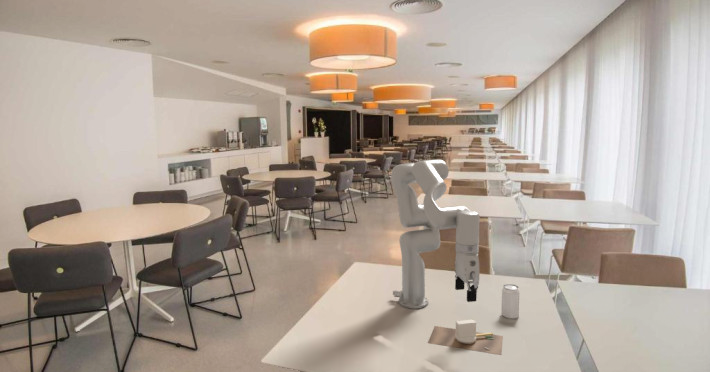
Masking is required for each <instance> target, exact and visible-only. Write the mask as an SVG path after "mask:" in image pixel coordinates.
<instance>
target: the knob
mask: <svg viewBox="0 0 710 372" xmlns="http://www.w3.org/2000/svg"><path fill="white" fill-rule="evenodd" d="M455 329H456V334H455V338H456V340H457V341H459V342H461V343H465V344H471V343H474V342H475V341H476V337H481V336H490V335H494V332H481V333H482V334H476V332H477V321H475V320H474V319H472V318H471V319H463V320H456V321H455Z"/></svg>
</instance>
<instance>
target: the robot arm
mask: <svg viewBox="0 0 710 372" xmlns="http://www.w3.org/2000/svg"><path fill="white" fill-rule="evenodd" d="M448 176H449V166H448V165H447V163H446V161H444V160H442V159H426V160H425V159H424V160H419V161H416V162H410V163H400V164H397V165H395V166H394V167H393V168H392V170H391V173H390V182H391V185H392V188H393V190H394V193H395V196H396V201H397V208H398V217H399V221H400V225H401V226H402V227H404V228H406V229H407V228H408V229H409V228H418V227H423V228H422V229H415V230H409V231H405V232H403V233H402V234H401V235H400V237H399V246H400V247H399V248H400V252H401V253H400V254H401V285H402V286H401V290H399V291H398V290H392V295H393V296H394V298H398V304H399V305H400V306H401V307H404V308H407V309H416V310H417V309H422V308H425V307H427V306H428V305H429V299H428V298H427V297H426V295H425V294H426V292H425V291H426V289H425V286H426V285H425V283H426V281H425V280H426V279H425V276H426V273H425V272H426V271H425V270H426V269H425V261H424V259H423V258H422V257H421V255H420V254H421V253H427V252H434V251H437V250H438V249H439V248H440V246H441V233H440V230H447V229H448V230H449V229H455V249H454V250H455V252H456V253H455V263H454V272H455V275H454V277H455V278H454V279H455V280H454V281H455V283H454V284H455V285H454V287H455V291H460V290H461V291H462V290H465V284H466V286H467V290H466V302H467V303H472V302H477V293H478V289H479V284H480V259H479V243H480V222H481V221H480V220H481V219H480V214H479V213H478V212H477V211H474V210H470V209H469V208H468V207H466V206H465V205H455V206H445V207H444V206H443V207H439V206H438V205H437V203H436V201H437V200H439V199H440V198H441V197H443V195H444V194H445V193H446V191H447V183H446V182H445V181H444V180H446V179H447V178H448ZM410 184H418V185H419V187H420V189H421V190H422V192H423V193H424V194H425V195H424V198H423V203H418V197H417V196H418V195H417V192H416V191H415V190H414V188H413V187H412V186H411V185H410Z"/></svg>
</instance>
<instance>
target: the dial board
mask: <svg viewBox="0 0 710 372" xmlns="http://www.w3.org/2000/svg"><path fill="white" fill-rule="evenodd" d="M482 333H483V332H478V331H476V334H482ZM455 334H456V328H451V327H444V326H439V325H434V326H433V329H432V331H431V334H430V337H429V338H428V341H427V344H431V345H438V346H445V347H449V348H456V349H463V350H469V351H475V352H480V353H481V352H482V353H487V354H493V355H499V356H502V352H503V341H504V335H498V334H493V335H490V336H481V337H476V341H475V342H474V343H471V344H465V343H461V342H459V341H457V340H456V338H455Z"/></svg>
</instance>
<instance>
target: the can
mask: <svg viewBox="0 0 710 372" xmlns="http://www.w3.org/2000/svg"><path fill="white" fill-rule="evenodd" d="M502 287H503V288H502V289H501V316H502V317H504V318H506V319H509V320H511V319H512V320H515V319H517V318H518V317H519V316H520V289H519V286H518V285H516V284H511V283H506V284H504V285H503V286H502Z"/></svg>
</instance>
